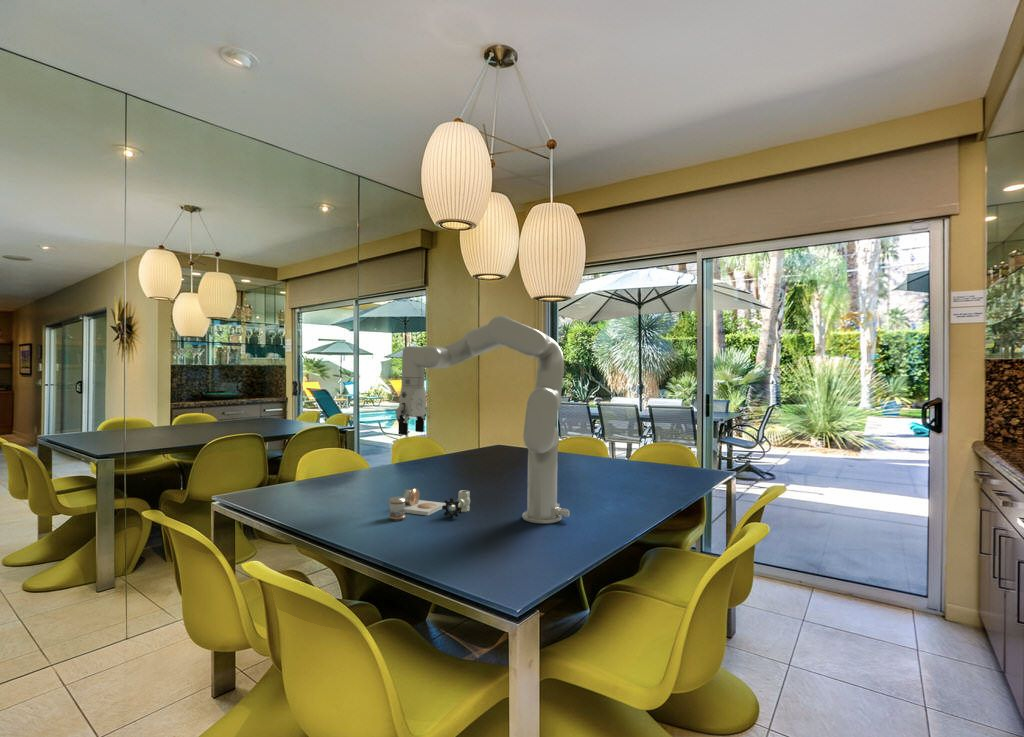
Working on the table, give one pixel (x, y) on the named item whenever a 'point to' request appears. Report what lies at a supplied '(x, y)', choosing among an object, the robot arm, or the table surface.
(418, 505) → the plate
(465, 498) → the valve
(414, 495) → the fixed stub
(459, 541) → the table surface
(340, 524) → the table surface
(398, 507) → the coupling
